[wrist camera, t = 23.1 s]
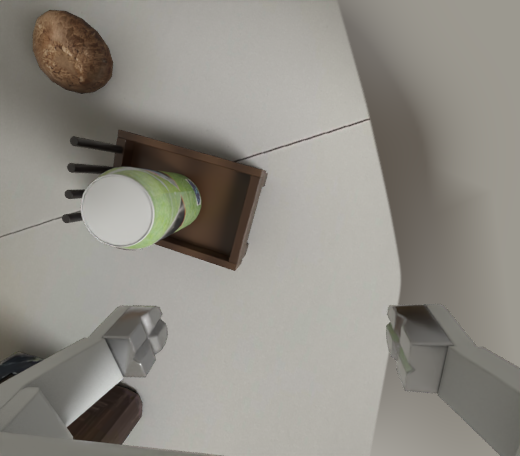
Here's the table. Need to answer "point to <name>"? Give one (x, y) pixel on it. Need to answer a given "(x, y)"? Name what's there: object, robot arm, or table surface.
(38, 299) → the table surface
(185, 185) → the beverage can
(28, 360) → the decorative book
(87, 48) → the mushroom
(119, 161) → the tray
